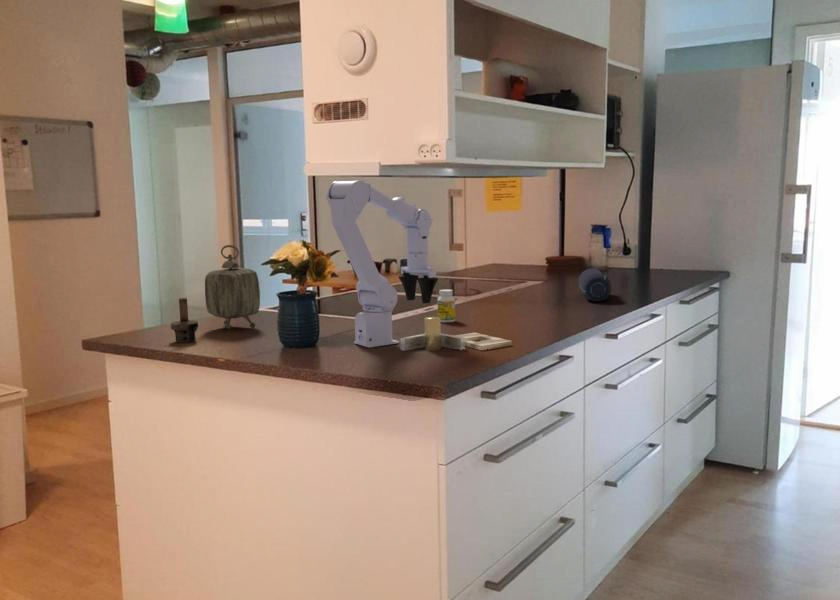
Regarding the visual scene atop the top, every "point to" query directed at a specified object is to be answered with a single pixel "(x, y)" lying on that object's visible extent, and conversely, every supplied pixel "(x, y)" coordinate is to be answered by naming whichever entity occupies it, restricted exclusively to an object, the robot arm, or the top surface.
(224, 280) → the tabletop clock
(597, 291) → the portable speaker
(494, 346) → the beige plate with hole
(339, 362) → the top surface
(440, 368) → the top surface
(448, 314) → the supplement bottle
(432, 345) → the brass axle
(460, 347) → the grey angled bracket
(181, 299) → the industrial component
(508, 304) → the top surface
